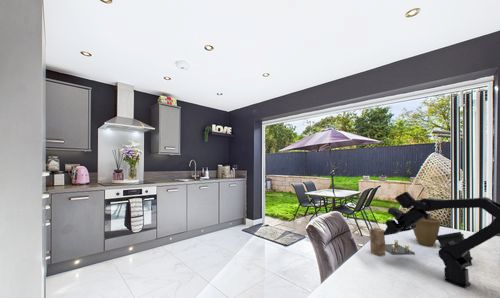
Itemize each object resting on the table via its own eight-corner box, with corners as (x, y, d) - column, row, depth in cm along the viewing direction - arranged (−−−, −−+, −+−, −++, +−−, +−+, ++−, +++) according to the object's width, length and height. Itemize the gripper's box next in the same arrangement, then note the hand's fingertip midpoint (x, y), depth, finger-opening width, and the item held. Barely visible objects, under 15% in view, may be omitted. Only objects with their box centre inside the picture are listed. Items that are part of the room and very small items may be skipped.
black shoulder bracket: (478, 265, 103) (458, 232, 109) (447, 267, 113) (431, 236, 120) (481, 263, 104) (461, 231, 111) (450, 265, 114) (434, 236, 121)
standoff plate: (415, 254, 118) (414, 246, 119) (392, 254, 118) (392, 247, 118) (397, 245, 131) (396, 239, 132) (376, 245, 130) (376, 239, 131)
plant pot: (448, 249, 127) (447, 221, 129) (423, 248, 128) (421, 220, 129) (428, 240, 142) (427, 215, 143) (405, 240, 142) (404, 215, 144)
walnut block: (385, 254, 117) (384, 230, 118) (379, 256, 115) (379, 231, 116) (375, 251, 122) (375, 227, 123) (370, 252, 119) (370, 228, 120)
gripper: (408, 201, 115) (387, 218, 124) (388, 204, 106) (367, 221, 115) (426, 220, 108) (403, 236, 116) (407, 224, 99) (383, 241, 107)
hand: (389, 233), depth 114 cm, fingers open, 9 cm apart
